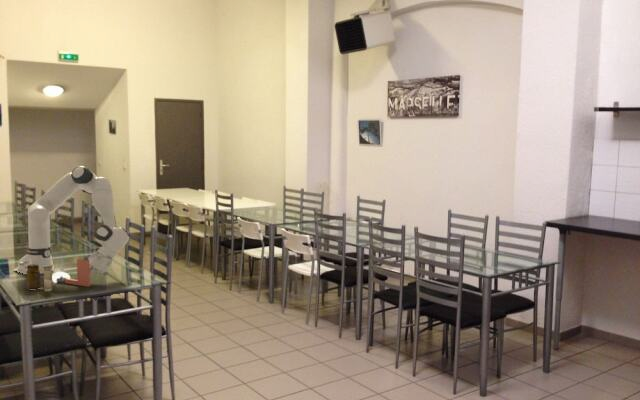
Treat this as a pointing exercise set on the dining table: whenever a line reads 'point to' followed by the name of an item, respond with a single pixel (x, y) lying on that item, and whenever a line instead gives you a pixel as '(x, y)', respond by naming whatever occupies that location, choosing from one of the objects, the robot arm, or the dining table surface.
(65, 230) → the dining table surface
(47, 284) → the latch post
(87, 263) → the red l-shaped bracket
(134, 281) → the dining table surface
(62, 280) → the pivot base
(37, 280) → the condiment
